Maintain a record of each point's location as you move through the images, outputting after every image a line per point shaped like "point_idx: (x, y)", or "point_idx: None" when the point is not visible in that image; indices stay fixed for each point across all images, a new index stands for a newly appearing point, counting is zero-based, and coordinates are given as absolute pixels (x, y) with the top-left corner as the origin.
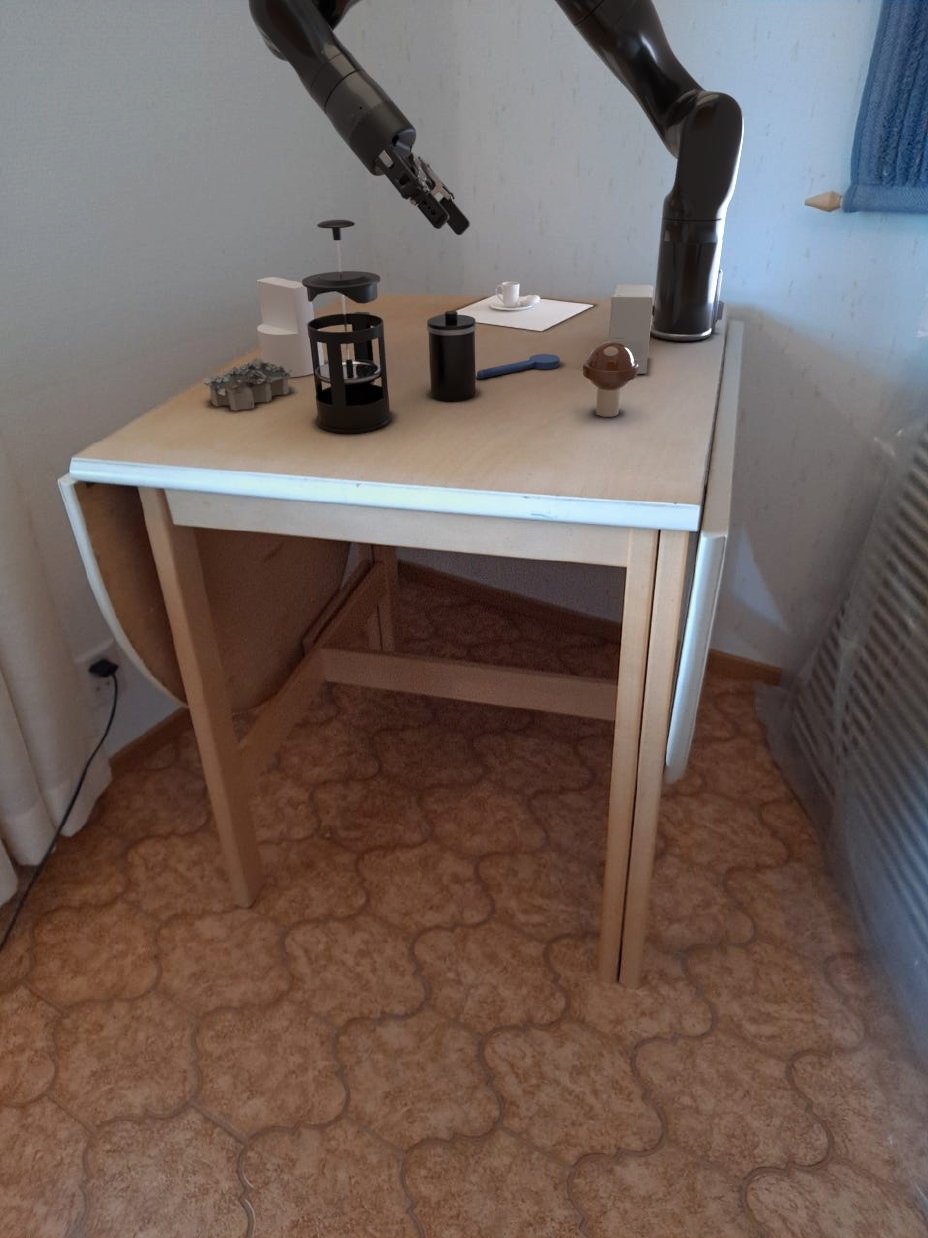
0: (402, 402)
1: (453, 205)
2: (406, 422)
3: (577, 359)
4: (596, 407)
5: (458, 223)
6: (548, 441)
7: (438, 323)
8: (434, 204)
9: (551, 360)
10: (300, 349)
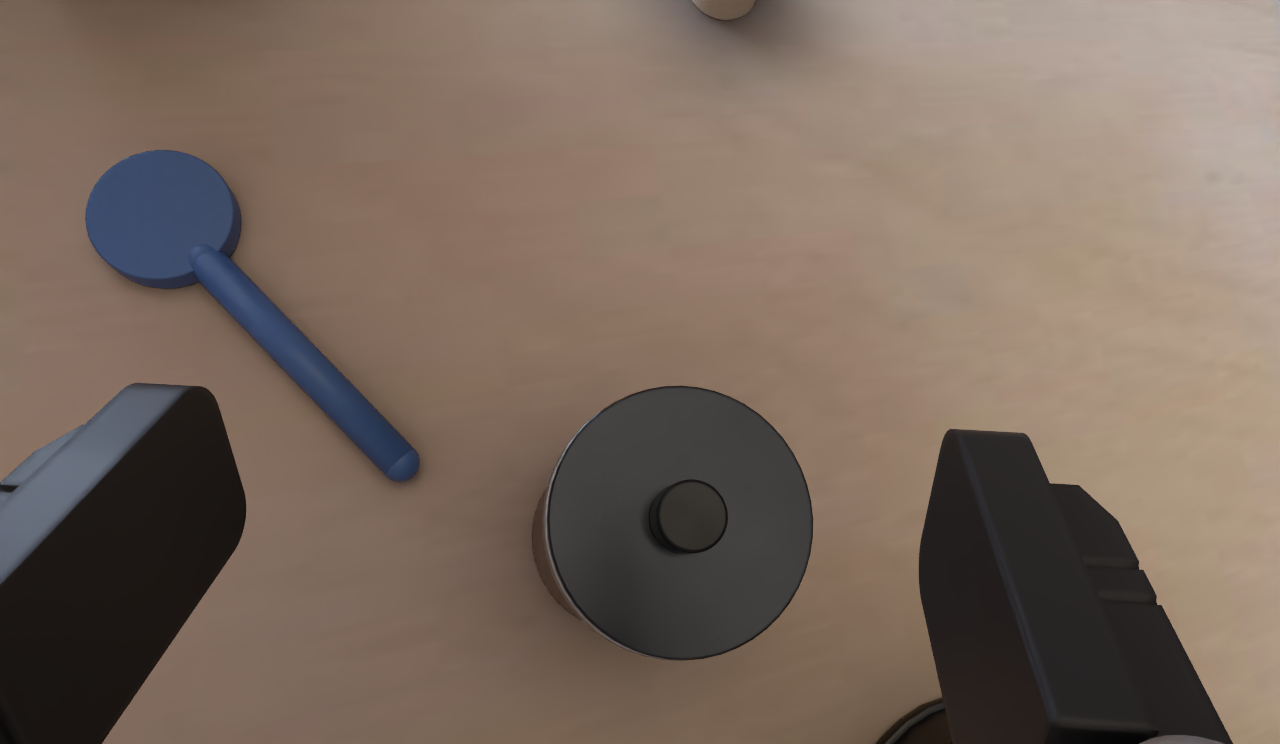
0: (751, 720)
1: (16, 591)
2: None
3: (70, 94)
4: (739, 8)
5: (181, 514)
6: (989, 147)
7: (761, 573)
8: (1117, 602)
9: (197, 181)
10: None
